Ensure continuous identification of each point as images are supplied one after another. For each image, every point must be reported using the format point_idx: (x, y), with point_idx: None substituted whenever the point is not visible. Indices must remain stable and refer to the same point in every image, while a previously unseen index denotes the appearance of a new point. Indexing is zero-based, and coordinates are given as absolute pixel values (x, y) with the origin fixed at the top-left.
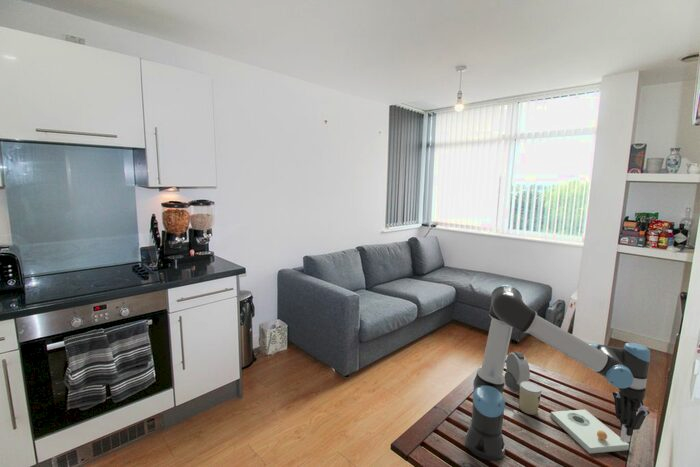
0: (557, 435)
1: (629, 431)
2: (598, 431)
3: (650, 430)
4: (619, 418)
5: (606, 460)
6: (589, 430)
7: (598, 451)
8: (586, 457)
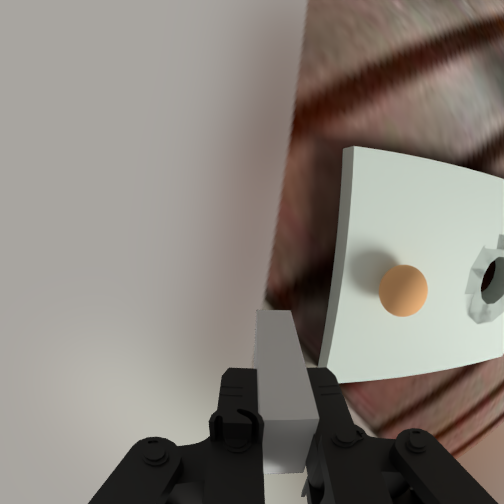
0: (455, 106)
1: (221, 405)
2: (423, 282)
3: None
4: (390, 452)
5: (287, 198)
6: (447, 271)
7: (341, 204)
8: (321, 107)
